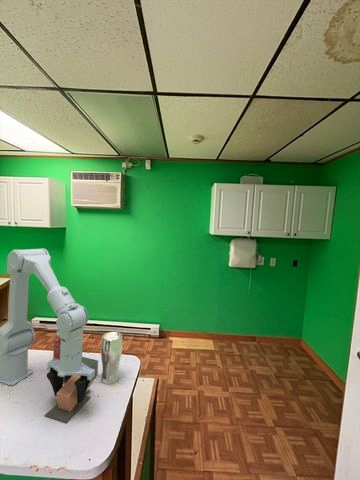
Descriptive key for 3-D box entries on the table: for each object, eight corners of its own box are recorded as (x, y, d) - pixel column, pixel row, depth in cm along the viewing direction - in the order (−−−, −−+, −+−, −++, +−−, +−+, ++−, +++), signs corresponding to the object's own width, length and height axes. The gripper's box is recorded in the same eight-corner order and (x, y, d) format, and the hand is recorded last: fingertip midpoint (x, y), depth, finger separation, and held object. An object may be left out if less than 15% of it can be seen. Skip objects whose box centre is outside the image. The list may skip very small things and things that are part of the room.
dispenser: (58, 381, 78) (59, 363, 78) (73, 369, 85) (73, 353, 85) (84, 388, 76) (85, 370, 75) (97, 375, 82) (98, 358, 82)
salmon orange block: (58, 407, 66) (56, 393, 65) (81, 379, 76) (80, 366, 74) (70, 411, 65) (68, 397, 64) (92, 382, 75) (91, 369, 73)
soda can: (66, 374, 82) (67, 337, 81) (48, 370, 83) (49, 334, 83) (78, 363, 89) (80, 329, 88) (61, 360, 90) (63, 326, 90)
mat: (44, 416, 64) (44, 415, 64) (71, 392, 73) (71, 391, 73) (66, 423, 62) (66, 422, 62) (90, 397, 71) (90, 396, 71)
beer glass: (96, 384, 78) (98, 339, 77) (103, 371, 85) (105, 330, 84) (116, 386, 77) (119, 341, 77) (123, 373, 84) (125, 332, 84)
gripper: (38, 352, 65) (37, 400, 65) (84, 363, 61) (81, 414, 62) (58, 341, 72) (56, 384, 72) (100, 350, 68) (97, 396, 68)
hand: (69, 397), depth 67 cm, fingers open, 7 cm apart
